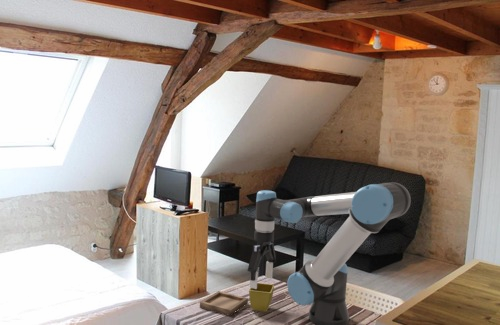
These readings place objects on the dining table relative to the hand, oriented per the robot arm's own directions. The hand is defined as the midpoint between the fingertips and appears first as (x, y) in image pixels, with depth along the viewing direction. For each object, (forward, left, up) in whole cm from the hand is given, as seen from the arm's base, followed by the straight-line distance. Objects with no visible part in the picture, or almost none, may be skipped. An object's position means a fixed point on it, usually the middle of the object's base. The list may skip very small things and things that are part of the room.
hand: (261, 282), depth 185 cm
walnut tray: (+14, +5, -11) cm, 18 cm away
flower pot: (0, 0, -11) cm, 11 cm away
